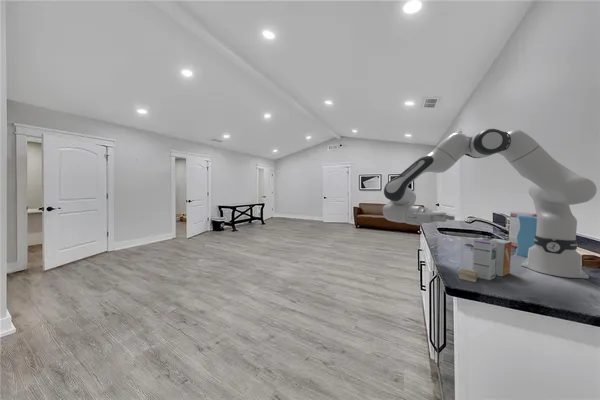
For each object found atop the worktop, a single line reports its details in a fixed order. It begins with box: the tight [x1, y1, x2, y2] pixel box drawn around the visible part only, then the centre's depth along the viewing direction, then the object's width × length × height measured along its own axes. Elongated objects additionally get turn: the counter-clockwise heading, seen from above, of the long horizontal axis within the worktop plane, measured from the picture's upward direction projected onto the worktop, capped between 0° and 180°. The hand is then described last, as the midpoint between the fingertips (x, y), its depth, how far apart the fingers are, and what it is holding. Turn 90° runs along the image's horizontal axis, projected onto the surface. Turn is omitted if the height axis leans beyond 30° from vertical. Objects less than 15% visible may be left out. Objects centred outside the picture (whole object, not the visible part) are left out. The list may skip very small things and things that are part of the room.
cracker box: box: [508, 211, 537, 249], centre depth 137 cm, size 14×6×21 cm, turn 179°
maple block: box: [458, 267, 479, 283], centre depth 88 cm, size 5×5×3 cm
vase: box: [515, 216, 537, 258], centre depth 122 cm, size 8×8×20 cm
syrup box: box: [472, 237, 497, 281], centre depth 90 cm, size 6×6×14 cm
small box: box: [493, 238, 513, 277], centre depth 94 cm, size 8×6×13 cm
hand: (450, 219), depth 98 cm, fingers open, 8 cm apart
